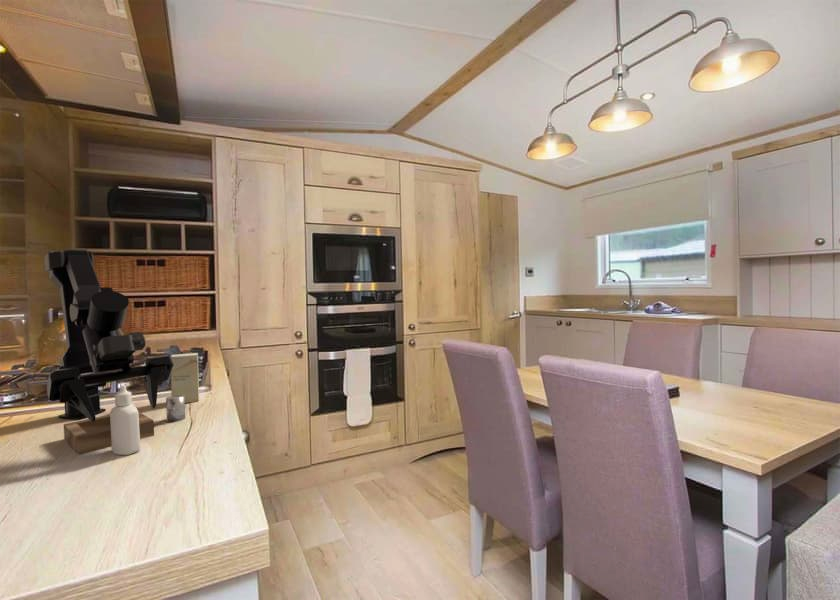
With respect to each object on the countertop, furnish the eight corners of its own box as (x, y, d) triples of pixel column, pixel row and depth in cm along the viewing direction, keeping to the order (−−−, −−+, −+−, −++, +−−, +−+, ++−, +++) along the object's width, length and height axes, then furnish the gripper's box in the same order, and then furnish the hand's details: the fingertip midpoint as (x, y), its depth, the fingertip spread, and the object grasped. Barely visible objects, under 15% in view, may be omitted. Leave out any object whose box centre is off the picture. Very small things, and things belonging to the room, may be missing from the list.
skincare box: (171, 405, 105) (169, 357, 104) (172, 400, 109) (170, 354, 108) (199, 401, 108) (197, 354, 107) (199, 397, 112) (198, 352, 111)
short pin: (162, 421, 92) (161, 399, 92) (175, 416, 96) (174, 394, 96) (176, 422, 91) (175, 399, 91) (189, 417, 95) (188, 395, 95)
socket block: (64, 439, 82) (63, 424, 82) (135, 422, 92) (134, 409, 91) (78, 454, 75) (77, 438, 75) (154, 435, 84) (153, 420, 84)
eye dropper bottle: (140, 443, 79) (137, 381, 79) (140, 453, 75) (137, 387, 74) (112, 448, 77) (109, 384, 77) (110, 459, 72) (106, 391, 72)
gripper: (45, 323, 71) (62, 398, 64) (167, 315, 85) (192, 376, 78) (40, 364, 76) (56, 437, 69) (156, 350, 90) (178, 410, 84)
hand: (125, 413), depth 75 cm, fingers open, 9 cm apart
